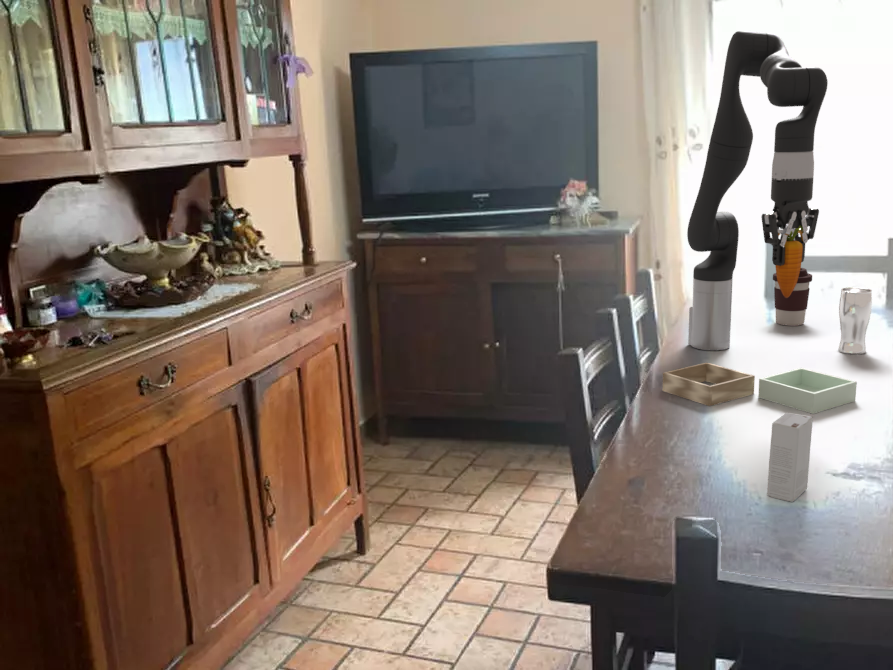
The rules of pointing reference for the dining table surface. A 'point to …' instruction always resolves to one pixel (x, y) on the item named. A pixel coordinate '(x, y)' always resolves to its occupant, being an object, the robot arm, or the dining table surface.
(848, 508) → the dining table surface
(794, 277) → the carrot
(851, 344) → the beer glass
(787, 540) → the dining table surface
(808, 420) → the skincare box
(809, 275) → the coffee cup
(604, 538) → the dining table surface
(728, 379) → the birch frame
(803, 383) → the green tray
